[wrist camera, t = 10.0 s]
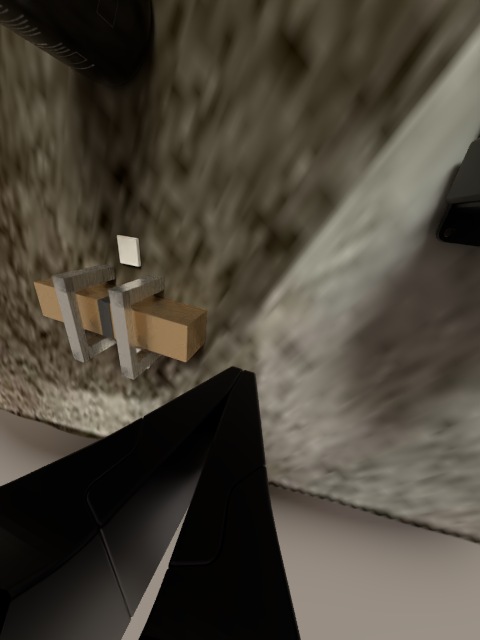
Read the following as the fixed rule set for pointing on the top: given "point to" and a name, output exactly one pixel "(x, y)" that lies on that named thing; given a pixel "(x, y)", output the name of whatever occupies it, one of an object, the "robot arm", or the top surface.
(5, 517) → the robot arm
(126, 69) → the supplement bottle
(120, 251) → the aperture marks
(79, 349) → the collar
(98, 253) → the top surface
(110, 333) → the banded wooden block
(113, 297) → the collar
